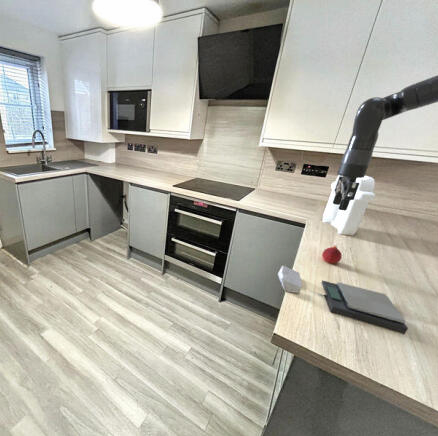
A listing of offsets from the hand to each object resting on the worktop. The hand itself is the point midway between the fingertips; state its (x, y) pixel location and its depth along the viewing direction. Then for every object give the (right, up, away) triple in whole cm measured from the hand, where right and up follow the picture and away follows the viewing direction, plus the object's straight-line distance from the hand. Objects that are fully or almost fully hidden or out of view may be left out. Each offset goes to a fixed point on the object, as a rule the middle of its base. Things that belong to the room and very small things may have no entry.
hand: (338, 207), depth 87 cm
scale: (-9, -30, -17) cm, 36 cm away
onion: (0, -22, +6) cm, 23 cm away
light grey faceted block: (-24, -26, -9) cm, 37 cm away
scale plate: (-7, -29, -19) cm, 35 cm away
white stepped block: (+35, -10, +43) cm, 57 cm away
